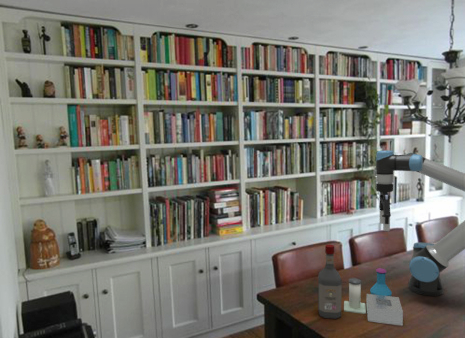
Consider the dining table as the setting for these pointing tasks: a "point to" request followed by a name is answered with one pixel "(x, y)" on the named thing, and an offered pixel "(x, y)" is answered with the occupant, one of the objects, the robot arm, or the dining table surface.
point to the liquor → (329, 288)
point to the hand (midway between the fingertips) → (384, 227)
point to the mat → (348, 309)
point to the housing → (384, 309)
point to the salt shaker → (354, 293)
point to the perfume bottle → (380, 284)
